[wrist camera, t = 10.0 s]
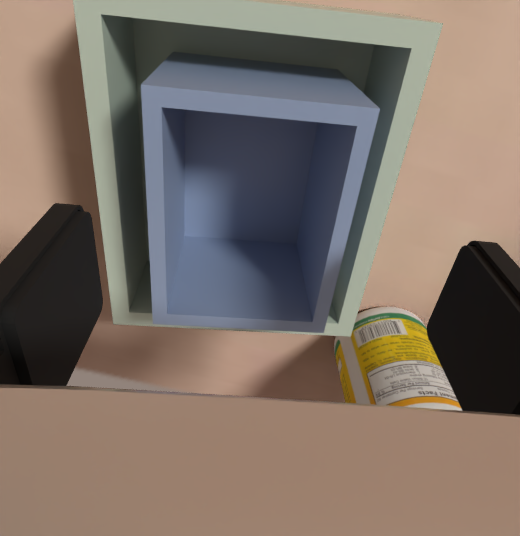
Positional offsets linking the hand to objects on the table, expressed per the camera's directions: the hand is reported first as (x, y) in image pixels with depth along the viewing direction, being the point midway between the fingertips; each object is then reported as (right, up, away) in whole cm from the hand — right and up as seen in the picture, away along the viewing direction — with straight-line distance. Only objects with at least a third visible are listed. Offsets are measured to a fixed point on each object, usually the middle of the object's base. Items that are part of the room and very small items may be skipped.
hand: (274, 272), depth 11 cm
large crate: (-1, +5, +8) cm, 9 cm away
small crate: (-1, +5, +7) cm, 9 cm away
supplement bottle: (+6, -4, +14) cm, 16 cm away
